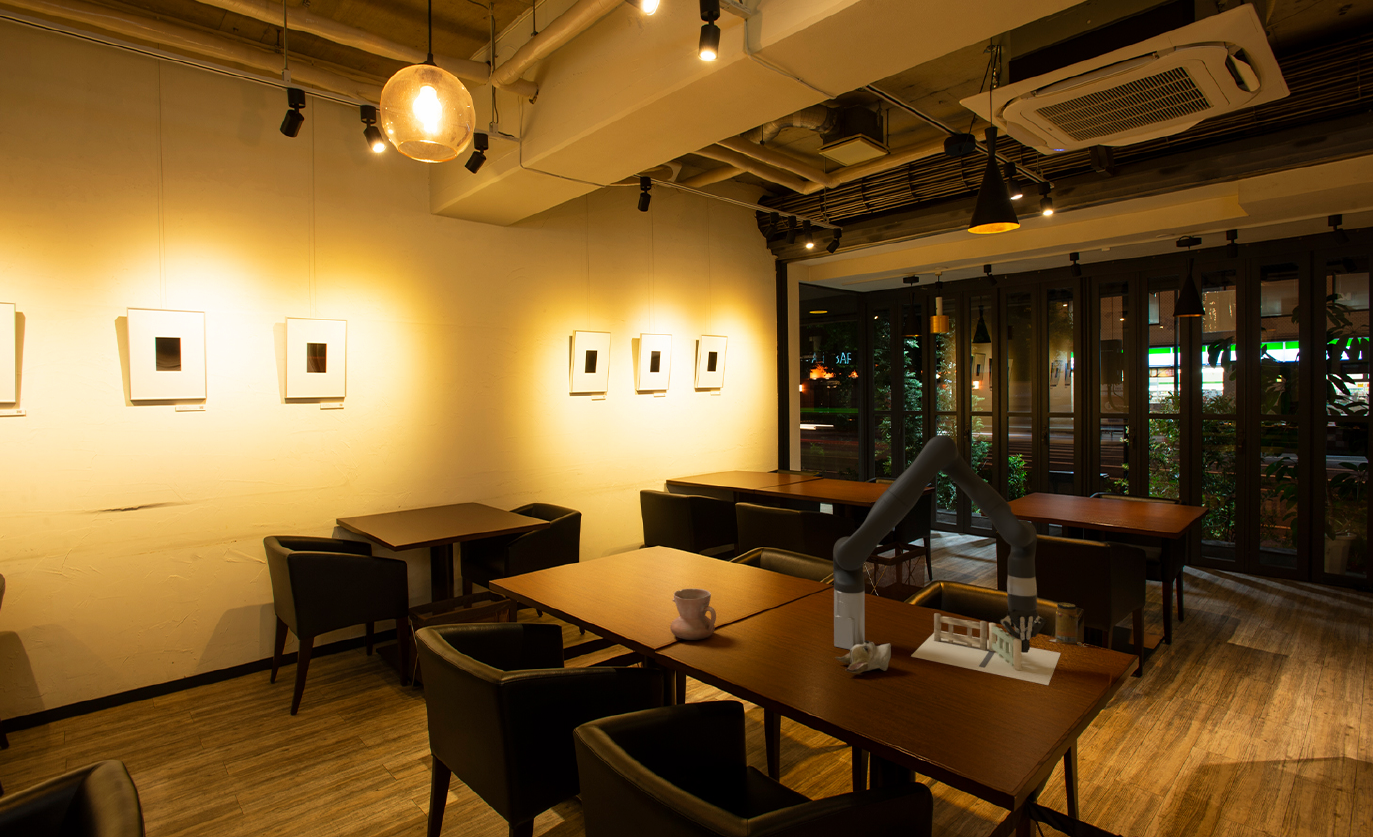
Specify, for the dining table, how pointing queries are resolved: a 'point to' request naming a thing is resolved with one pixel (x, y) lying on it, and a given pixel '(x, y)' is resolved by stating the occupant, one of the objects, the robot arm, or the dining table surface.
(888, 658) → the ceramic sculpture
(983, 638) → the fence fixed
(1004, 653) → the fence gate
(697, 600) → the ceramic jug
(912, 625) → the dining table surface
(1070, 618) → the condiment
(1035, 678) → the card
